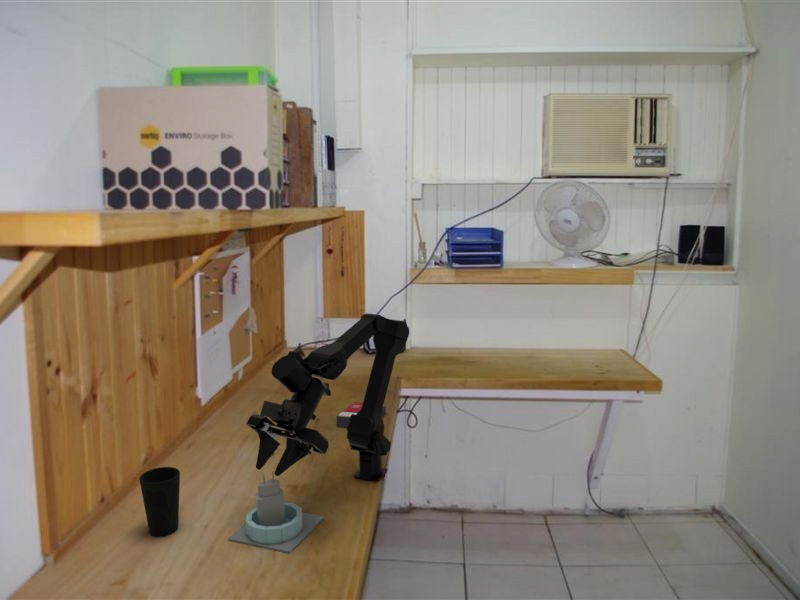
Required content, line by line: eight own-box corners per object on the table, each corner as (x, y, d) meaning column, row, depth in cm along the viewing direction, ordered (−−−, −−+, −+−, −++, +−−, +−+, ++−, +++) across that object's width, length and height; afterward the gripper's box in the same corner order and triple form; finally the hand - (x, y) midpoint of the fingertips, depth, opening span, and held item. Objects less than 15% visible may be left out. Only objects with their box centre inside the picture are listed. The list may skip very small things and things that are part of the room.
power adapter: (257, 524, 127) (252, 471, 124) (283, 518, 129) (279, 465, 126) (259, 532, 124) (255, 478, 121) (286, 526, 126) (283, 472, 123)
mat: (266, 507, 136) (266, 506, 136) (323, 518, 131) (323, 516, 131) (228, 540, 123) (228, 538, 123) (289, 553, 118) (289, 551, 118)
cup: (188, 519, 131) (184, 466, 129) (176, 539, 124) (172, 482, 122) (151, 520, 131) (147, 467, 129) (137, 540, 123) (133, 483, 121)
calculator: (386, 403, 195) (370, 417, 181) (386, 416, 196) (370, 431, 181) (353, 400, 198) (335, 413, 184) (353, 414, 199) (336, 428, 184)
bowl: (266, 512, 133) (265, 498, 133) (312, 521, 129) (311, 506, 129) (235, 538, 123) (234, 523, 122) (284, 548, 119) (283, 533, 118)
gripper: (250, 377, 130) (210, 444, 123) (317, 391, 119) (277, 466, 112) (279, 403, 138) (243, 467, 130) (344, 418, 127) (309, 490, 120)
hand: (266, 472), depth 123 cm, fingers open, 5 cm apart
